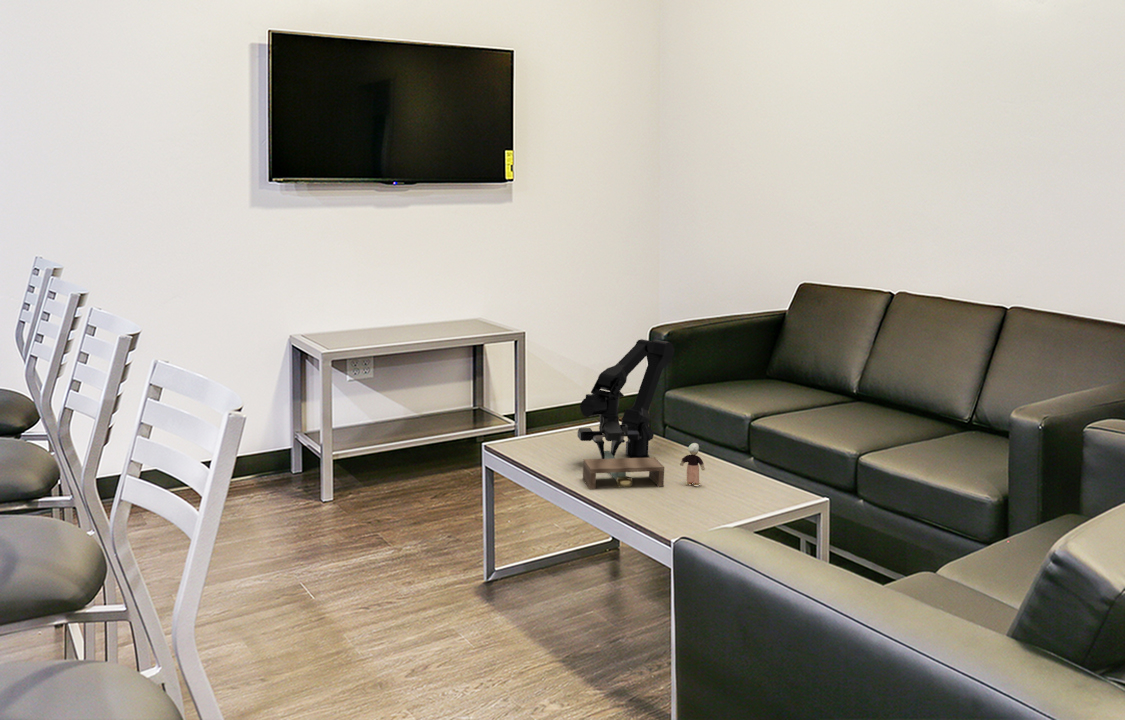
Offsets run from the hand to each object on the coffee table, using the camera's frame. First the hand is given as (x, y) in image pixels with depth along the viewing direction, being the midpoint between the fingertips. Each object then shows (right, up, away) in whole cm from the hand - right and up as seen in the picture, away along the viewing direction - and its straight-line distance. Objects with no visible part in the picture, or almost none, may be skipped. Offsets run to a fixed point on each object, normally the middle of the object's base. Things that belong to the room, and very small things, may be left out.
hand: (607, 460), depth 298 cm
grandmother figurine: (+24, -5, -18) cm, 31 cm away
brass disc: (+4, -5, -20) cm, 21 cm away
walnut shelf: (+4, -5, -18) cm, 19 cm away
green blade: (+1, -3, -7) cm, 8 cm away
